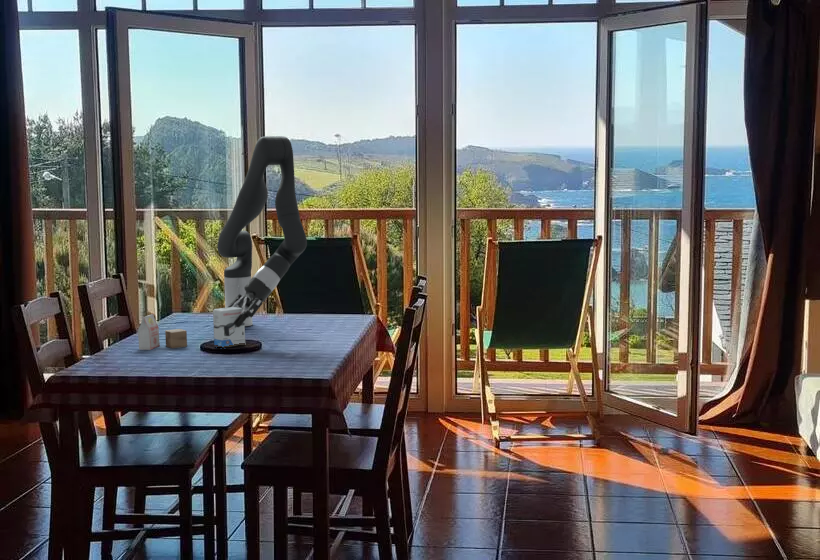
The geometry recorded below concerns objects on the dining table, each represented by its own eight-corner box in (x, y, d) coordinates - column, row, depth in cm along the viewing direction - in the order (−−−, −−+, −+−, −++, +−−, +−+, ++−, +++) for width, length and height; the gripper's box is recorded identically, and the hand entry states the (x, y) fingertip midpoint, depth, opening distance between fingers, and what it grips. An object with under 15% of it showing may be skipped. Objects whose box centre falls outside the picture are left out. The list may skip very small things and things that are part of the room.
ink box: (222, 349, 292) (220, 310, 291) (213, 347, 296) (212, 309, 295) (246, 345, 298) (244, 307, 296) (237, 343, 301) (236, 306, 300)
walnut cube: (165, 346, 299) (165, 330, 299) (181, 344, 302) (180, 328, 301) (171, 348, 295) (170, 332, 294) (187, 346, 298) (186, 330, 297)
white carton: (138, 349, 294) (137, 317, 293) (148, 345, 300) (146, 314, 299) (150, 349, 293) (148, 317, 292) (159, 345, 300) (158, 314, 299)
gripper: (244, 274, 305) (212, 313, 300) (264, 277, 294) (231, 318, 288) (260, 289, 309) (228, 328, 304) (280, 293, 297) (248, 334, 292)
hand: (230, 323), depth 296 cm, fingers open, 8 cm apart
